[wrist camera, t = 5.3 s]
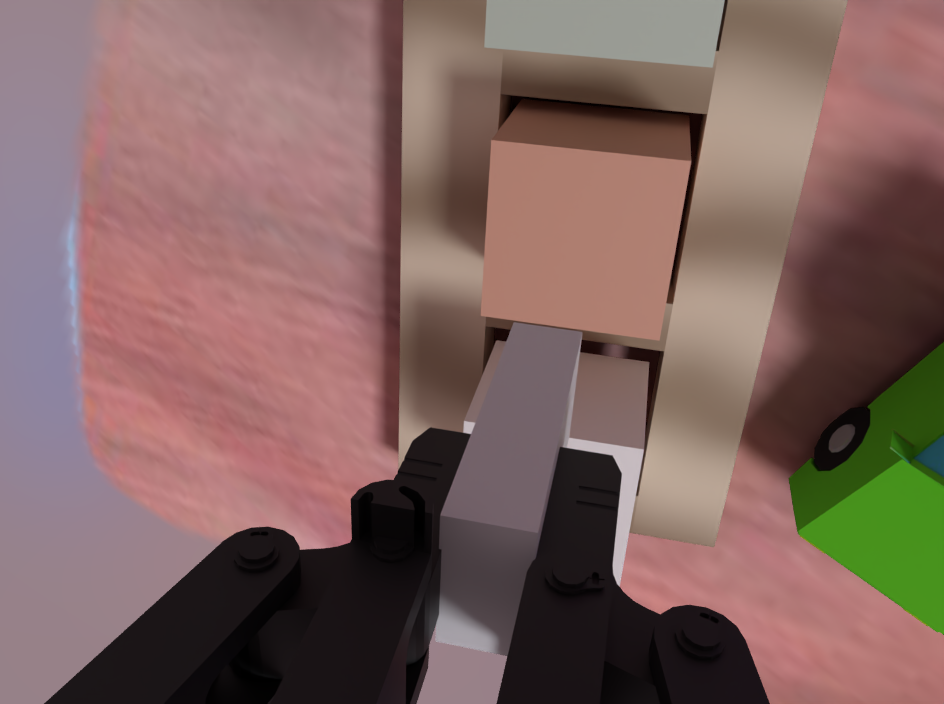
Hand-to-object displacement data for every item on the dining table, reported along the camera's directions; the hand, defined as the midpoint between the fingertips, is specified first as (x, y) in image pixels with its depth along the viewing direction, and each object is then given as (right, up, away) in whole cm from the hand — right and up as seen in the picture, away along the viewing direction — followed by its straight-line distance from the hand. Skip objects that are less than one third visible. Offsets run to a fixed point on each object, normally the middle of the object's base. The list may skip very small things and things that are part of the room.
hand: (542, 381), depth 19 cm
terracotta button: (+3, +7, +13) cm, 15 cm away
